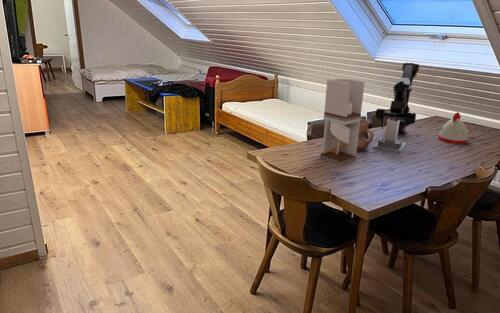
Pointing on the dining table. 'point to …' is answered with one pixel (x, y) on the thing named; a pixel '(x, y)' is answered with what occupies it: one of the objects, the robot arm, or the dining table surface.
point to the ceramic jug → (362, 141)
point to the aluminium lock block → (391, 130)
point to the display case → (342, 119)
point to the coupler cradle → (390, 145)
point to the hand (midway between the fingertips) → (391, 130)
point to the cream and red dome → (454, 131)
